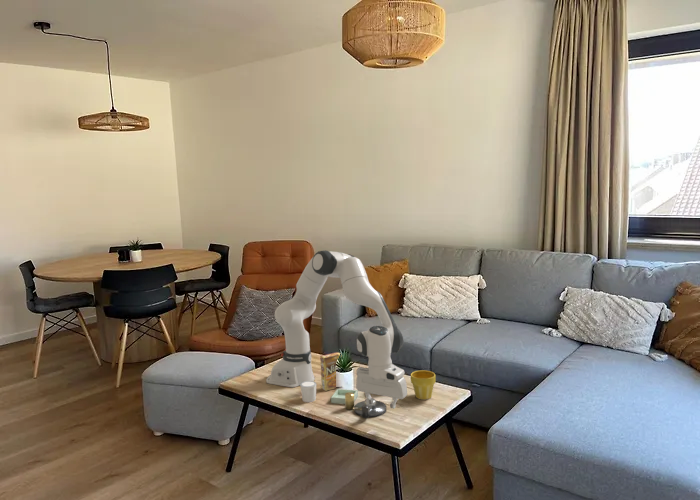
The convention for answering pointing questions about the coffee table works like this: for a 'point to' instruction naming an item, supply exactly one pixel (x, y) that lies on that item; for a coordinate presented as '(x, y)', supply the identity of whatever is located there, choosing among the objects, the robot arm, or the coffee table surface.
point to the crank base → (375, 412)
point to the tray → (342, 395)
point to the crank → (368, 408)
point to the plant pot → (423, 383)
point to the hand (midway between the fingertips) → (381, 405)
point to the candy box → (329, 370)
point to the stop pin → (349, 401)
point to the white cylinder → (308, 391)
